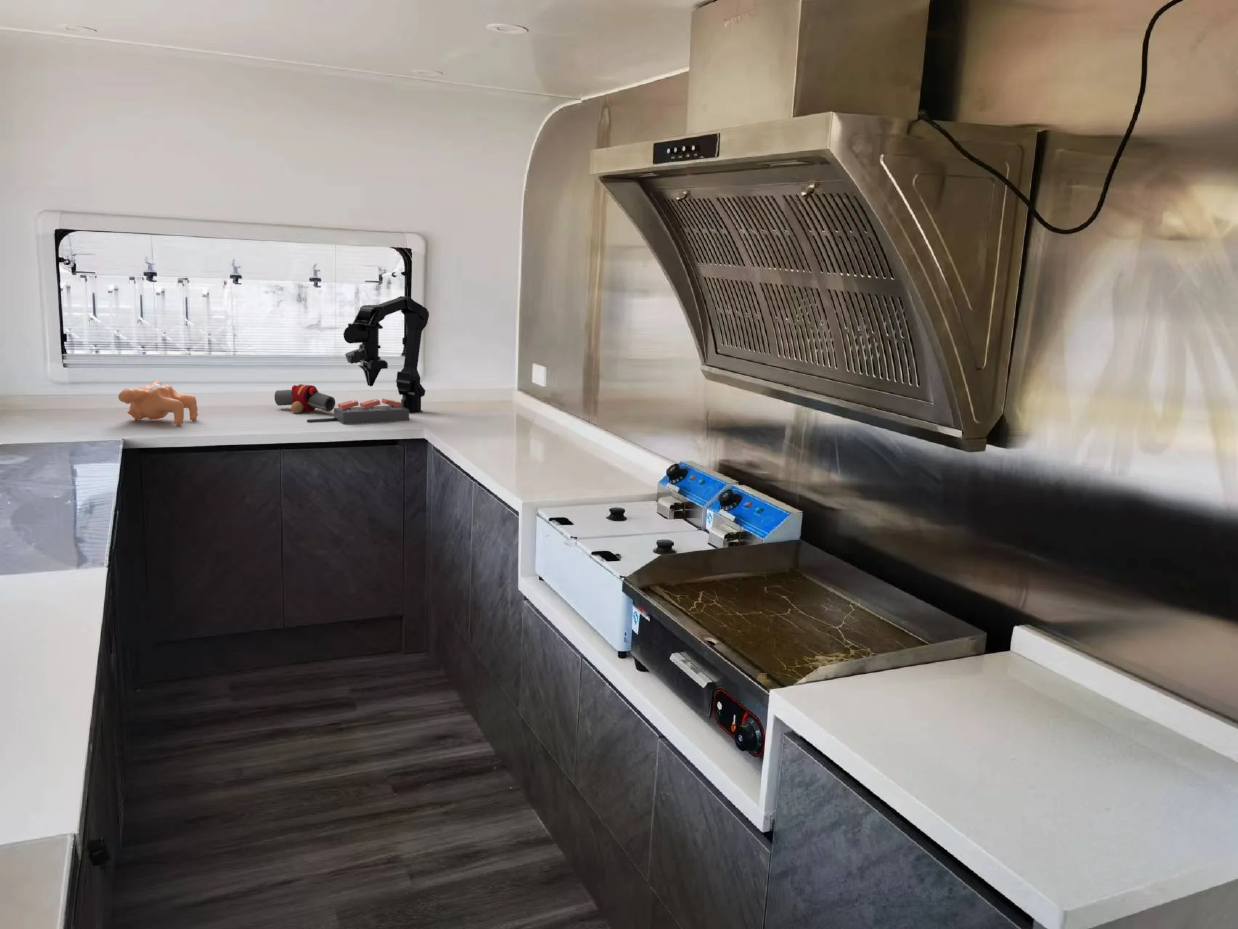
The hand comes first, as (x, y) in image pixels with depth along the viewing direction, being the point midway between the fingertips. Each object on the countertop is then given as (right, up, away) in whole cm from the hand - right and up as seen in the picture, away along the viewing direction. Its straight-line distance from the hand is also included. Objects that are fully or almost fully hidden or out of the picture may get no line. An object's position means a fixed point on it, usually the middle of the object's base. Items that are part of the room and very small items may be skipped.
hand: (370, 385), depth 343 cm
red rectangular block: (+6, -6, +6) cm, 10 cm away
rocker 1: (-7, -7, -3) cm, 10 cm away
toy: (-27, -9, +11) cm, 30 cm away
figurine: (-64, -14, -22) cm, 69 cm away
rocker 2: (0, -6, +1) cm, 6 cm away
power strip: (-4, -12, -1) cm, 13 cm away
